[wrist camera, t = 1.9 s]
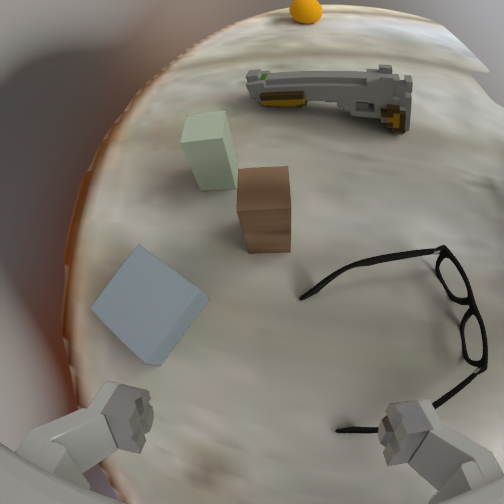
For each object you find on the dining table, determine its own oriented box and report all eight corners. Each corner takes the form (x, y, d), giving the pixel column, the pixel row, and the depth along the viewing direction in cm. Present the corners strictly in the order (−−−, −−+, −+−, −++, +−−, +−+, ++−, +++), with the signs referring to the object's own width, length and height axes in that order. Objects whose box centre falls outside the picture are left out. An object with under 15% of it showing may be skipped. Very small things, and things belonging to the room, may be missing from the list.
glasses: (473, 376, 25) (498, 372, 20) (337, 440, 24) (349, 450, 20) (431, 250, 32) (449, 231, 27) (296, 290, 31) (300, 274, 27)
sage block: (204, 164, 39) (186, 115, 31) (237, 161, 38) (225, 110, 30) (200, 191, 37) (180, 142, 29) (236, 188, 37) (222, 137, 28)
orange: (325, 19, 57) (325, -5, 50) (318, 28, 54) (318, 2, 47) (295, 15, 59) (293, -9, 52) (286, 24, 56) (284, -1, 49)
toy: (409, 138, 37) (414, 83, 29) (261, 131, 46) (242, 82, 38) (407, 116, 39) (409, 64, 31) (269, 111, 48) (252, 64, 40)
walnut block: (249, 217, 35) (238, 168, 27) (288, 216, 34) (288, 166, 26) (249, 253, 33) (236, 210, 25) (290, 252, 33) (291, 208, 24)
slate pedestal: (153, 257, 34) (139, 243, 31) (210, 300, 32) (200, 289, 28) (109, 316, 32) (90, 308, 28) (161, 366, 29) (145, 363, 26)
